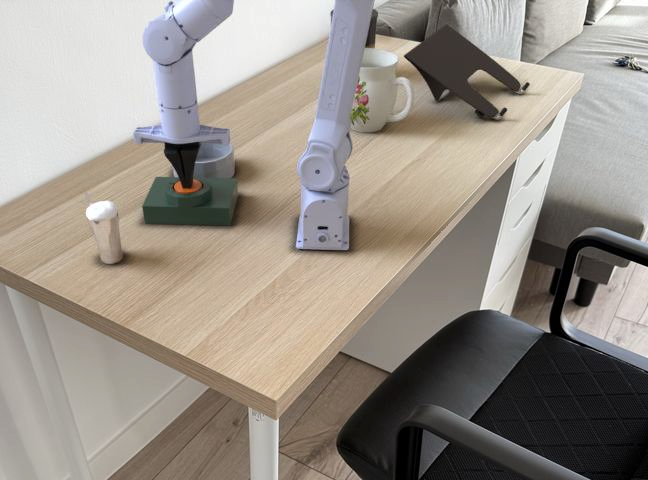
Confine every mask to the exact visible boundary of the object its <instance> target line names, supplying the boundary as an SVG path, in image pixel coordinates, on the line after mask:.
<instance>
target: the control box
mask: <svg viewBox="0 0 648 480" xmlns="http://www.w3.org/2000/svg"><path fill="white" fill-rule="evenodd" d="M193 179H194V180H198V181H199V182H201V184H202V189H201V190H200V191H198V192H195V193H191V194H181V193H178V192H175V189H174V185H175V184H176V183H177V182H179V181H180V179H179V177H174V176H155V177H154V179H153V182H152V183H151V186H150V188H149V190H148V192H147V195H146V197H145V199H144V201H143V203H142V206H141V208H142V214H143V220H144V224H152V225H154V224H157V225H189V226H190V225H191V226H193V225H195V226H231V223H232V220H233V217H234V213H235V209H236V205H237V201H238V198H239V189H238V187H239V186H238V178H236V177H235V178H234V177H232V178H203V177H200V176H193Z"/></svg>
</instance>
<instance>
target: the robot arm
mask: <svg viewBox="0 0 648 480" xmlns="http://www.w3.org/2000/svg"><path fill="white" fill-rule="evenodd" d="M234 3H235V0H175V1H174V2H173V1H172V0H169V1H168V2H167V3H165V5H164V6H163V9H164V10H165V11H164V12H163V13H162V14H160V15H159V16H157V17H156V18H153V19H151V20H149V21H148V23H147V25H146V27H145V28H144V29H143V32H142V45H143V48H144V51H145V52H146V54H147V55H148V57H149V58H151V60H152V66H153V73H154V81H155V87H156V89H155V90H156V95H157V103H158V110H159V117H160V124H157V125H150V126H136V127H135V128H134V130H133V132H132V134H133V140H134V141H133V142H134V145H143V144H144V143H145V144H147V143H148V144H149V143H150V144H164V149H163V155H164V157H165V158H166V159H167V160H168V162H169V163H170V164H171V167H172V166H173V167H174V169H175V171H176V173H177V175H178V177H179V179H180V182H181V185H182V188H186V189H191V187H192V185H193V174H194V167H195V162H196V158H197V155H198V152H199V148H200V146H201V144H222V146H229V143H230V142H231V130H230V128H226V127H225V128H223V127H216V126H210V125H206V124H205V125H204V124H201V123H200V114H199V104H198V93H197V83H196V74H195V73H196V72H195V65H194V55H193V54H194V53H193V49H194V47H195V46H196V45H197V43H199V42H201V41H202V40H203V39H204V38H205V37H206V36H208V35H209V34H210V33H211V32H213V31H214V30H215V29H217V28H218V27H219V26H221V24H222V23H223V22H225V21H226V20H227V19H228V18H230V17H231V16H232V14H233V12H234ZM374 6H375V0H334V6H333V9H334V11H333V17H332V23H331V22H330V29H329V35H328V41H327V46H326V53H325V58H324V64H323V69H322V75H321V81H320V88H319V93H318V98H317V103H316V110H315V117H314V120H313V124H312V126H311V130H310V133H309V135H308V140H307V145H306V149H305V151H304V152H303V153H302V154H301V156H300V157H299V158H298V161H297V163H296V164H297V165H296V173H297V176H298V178H299V180H300V214H299V216H298V217H299V218H298V226H297V235H296V244H295V248H296V249H298V250H322V251H324V250H325V251H326V250H327V251H330V250H331V251H348V250H349V249H350V217H349V216H348V209H349V193H350V174H349V171H348V168H347V166H346V163H347V162H348V160H349V158H351V155H352V153H353V148H354V147H353V146H354V145H353V140H352V136H351V129H352V128H351V123H352V122H351V119H350V116H351V111H352V106H353V102H354V97H355V92H356V87H357V83H358V78H359V73H360V68H361V63H362V59H363V54H364V49H365V44H366V40H367V35H368V30H369V25H370V20H371V16H372V11H373V9H374Z"/></svg>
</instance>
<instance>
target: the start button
mask: <svg viewBox="0 0 648 480" xmlns="http://www.w3.org/2000/svg"><path fill="white" fill-rule="evenodd" d="M174 189H175V192H178V193H181V194H191V193H195V192H198V191H200V190H201V189H202V184H201V182H199V181H198V180H194V179H193V185H192V187H191V189H186V188H182V185H181V182H180V181H179V182H177V183H176V184H175V185H174Z"/></svg>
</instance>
